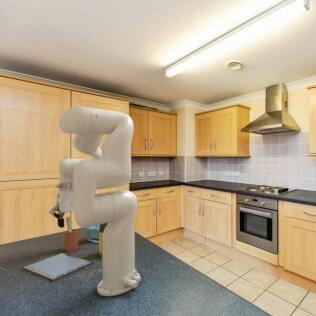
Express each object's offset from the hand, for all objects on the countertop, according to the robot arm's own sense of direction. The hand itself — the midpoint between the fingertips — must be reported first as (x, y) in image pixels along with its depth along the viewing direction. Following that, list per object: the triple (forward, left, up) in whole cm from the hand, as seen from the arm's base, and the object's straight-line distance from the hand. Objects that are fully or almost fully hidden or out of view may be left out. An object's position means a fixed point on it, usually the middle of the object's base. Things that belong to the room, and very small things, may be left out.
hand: (71, 224), depth 96 cm
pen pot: (0, 0, -12) cm, 12 cm away
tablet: (-11, +10, -12) cm, 19 cm away
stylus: (-1, 0, -12) cm, 12 cm away
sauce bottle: (-19, -4, -12) cm, 23 cm away
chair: (+1, -12, -12) cm, 17 cm away
